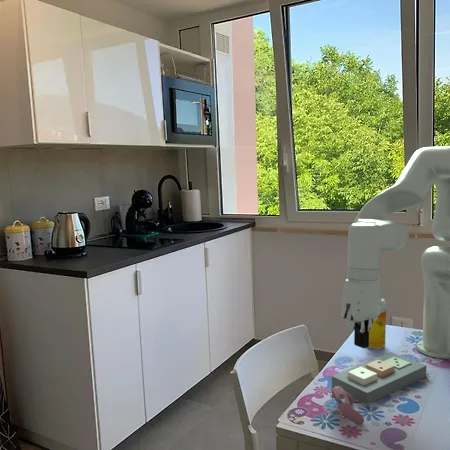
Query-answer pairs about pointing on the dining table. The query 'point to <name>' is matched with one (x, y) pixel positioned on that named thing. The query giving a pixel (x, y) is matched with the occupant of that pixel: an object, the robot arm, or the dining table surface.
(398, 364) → the button three
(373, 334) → the beer can
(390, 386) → the panel
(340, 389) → the video game controller
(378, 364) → the button two
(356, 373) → the button one
